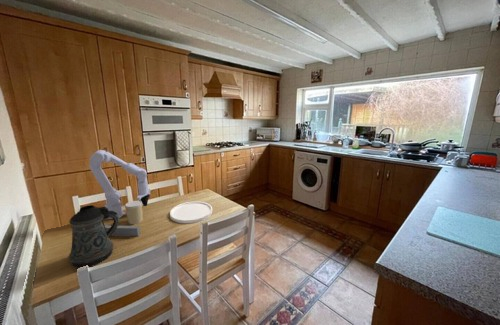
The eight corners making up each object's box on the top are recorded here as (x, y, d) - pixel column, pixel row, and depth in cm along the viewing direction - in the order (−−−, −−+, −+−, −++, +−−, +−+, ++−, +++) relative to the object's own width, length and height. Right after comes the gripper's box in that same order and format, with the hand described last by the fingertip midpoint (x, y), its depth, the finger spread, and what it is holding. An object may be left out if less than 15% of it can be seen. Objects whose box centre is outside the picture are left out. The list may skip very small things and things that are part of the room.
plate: (213, 221, 130) (213, 217, 129) (167, 226, 123) (166, 222, 123) (211, 202, 156) (211, 199, 156) (172, 206, 150) (172, 203, 149)
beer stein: (62, 262, 92) (50, 212, 86) (106, 238, 110) (99, 195, 104) (84, 273, 86) (73, 220, 80) (127, 247, 103) (120, 201, 97)
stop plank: (101, 235, 112) (100, 227, 111) (104, 233, 114) (103, 225, 113) (138, 236, 112) (137, 228, 111) (140, 233, 115) (139, 225, 113)
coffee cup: (147, 218, 131) (145, 201, 128) (135, 226, 122) (132, 207, 119) (136, 216, 134) (134, 199, 131) (123, 223, 125) (121, 205, 122)
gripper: (143, 191, 129) (145, 210, 132) (154, 183, 143) (155, 201, 147) (132, 190, 129) (135, 210, 132) (144, 183, 143) (146, 200, 147)
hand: (145, 205), depth 139 cm, fingers closed
